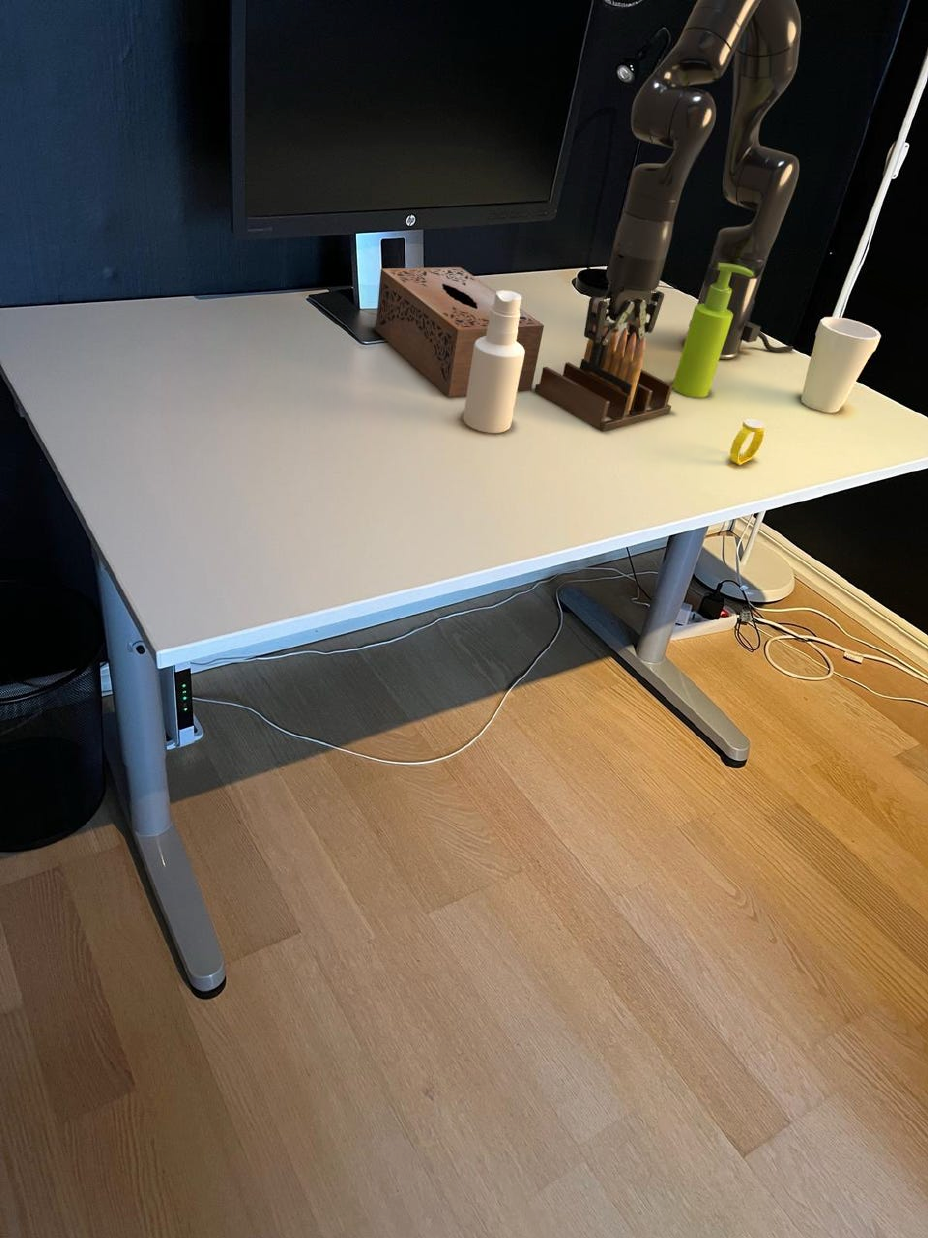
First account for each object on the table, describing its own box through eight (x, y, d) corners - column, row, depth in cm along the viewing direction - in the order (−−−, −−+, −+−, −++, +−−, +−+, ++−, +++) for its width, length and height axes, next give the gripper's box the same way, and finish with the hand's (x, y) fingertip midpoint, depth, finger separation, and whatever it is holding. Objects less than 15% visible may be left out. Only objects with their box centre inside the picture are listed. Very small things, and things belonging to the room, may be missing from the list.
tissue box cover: (531, 389, 142) (544, 325, 136) (448, 397, 136) (458, 329, 130) (452, 326, 159) (460, 266, 153) (375, 330, 153) (380, 268, 147)
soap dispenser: (714, 401, 149) (755, 275, 137) (672, 392, 150) (709, 265, 138) (714, 388, 154) (753, 264, 142) (672, 379, 154) (708, 255, 142)
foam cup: (802, 387, 160) (831, 312, 152) (855, 406, 156) (887, 330, 149) (784, 401, 153) (813, 324, 146) (838, 422, 150) (871, 343, 142)
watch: (744, 452, 135) (757, 414, 131) (760, 460, 134) (774, 422, 130) (721, 461, 131) (734, 423, 128) (737, 470, 130) (751, 431, 126)
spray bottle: (516, 420, 133) (540, 294, 122) (502, 438, 127) (526, 308, 116) (471, 407, 134) (491, 281, 123) (455, 425, 128) (475, 295, 118)
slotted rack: (600, 376, 151) (606, 351, 148) (669, 413, 143) (677, 387, 140) (534, 391, 142) (539, 365, 139) (603, 431, 134) (610, 404, 131)
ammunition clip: (631, 415, 140) (653, 338, 133) (623, 417, 139) (644, 339, 132) (581, 387, 146) (598, 311, 139) (573, 389, 145) (590, 313, 137)
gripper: (652, 237, 135) (624, 348, 145) (585, 243, 126) (560, 361, 136) (693, 253, 131) (661, 366, 141) (626, 261, 122) (597, 381, 132)
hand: (611, 363), depth 138 cm, fingers open, 6 cm apart
